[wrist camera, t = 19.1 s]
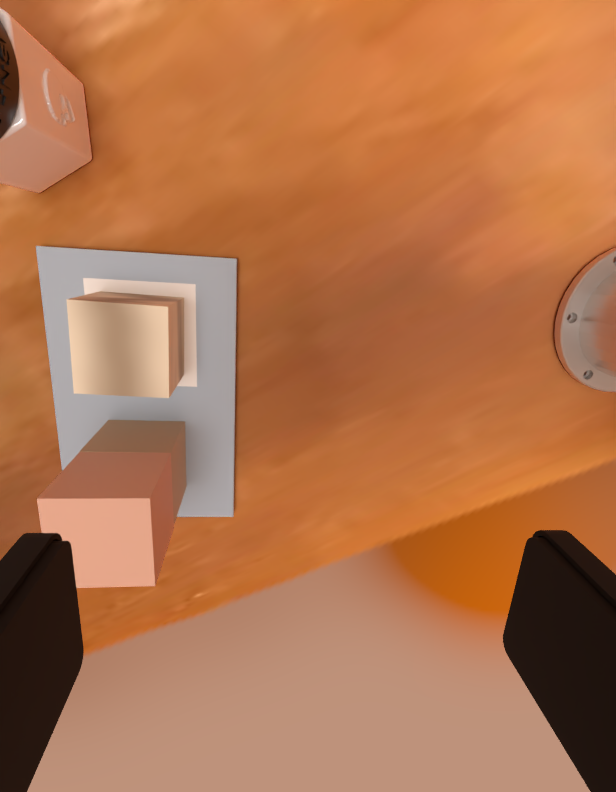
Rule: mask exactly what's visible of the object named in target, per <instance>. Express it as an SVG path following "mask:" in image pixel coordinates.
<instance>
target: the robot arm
mask: <svg viewBox="0 0 616 792" xmlns="http://www.w3.org/2000/svg"><path fill="white" fill-rule="evenodd" d="M554 336H555V347H556V350H557V354H558V357H559V360H560V361H561V363H562V365H563V367H564V368H565V370H566V371H567V372H568V373H569V374H570V375H571V376H572V377H573V378H574V379H576V380H577V381H579V382H580V383H582V384H584V385H586V386H588V387H591V388H593V389H596V390H600V391H604V392H616V248H613V249H610V250H609V251H607V252H605V253H603V254H601V255H600V256H598V257H597V258H595V259H594V260H593V261H592V262H590V263H589V264H588V265H587V266H585V267H584V269H583V270H582V271H581V272H580V273H579V274H578V275H577V276H576V277H575V278H574V280H573V282H572V283H571V285H570V286H569V288H568V289H567V291H566V292H565V295H564V297H563V299H562V301H561V303H560V306H559V309H558V313H557V316H556V321H555V331H554ZM503 643H504V647H505V651H506V653H507V655H508V657H509V658H510V660H511V662H512V663H513V665H514V667H515V668H516V670H517V672H518V673H519V675H520V676H521V678H522V680H523V681H524V683H525V685H526V686H527V688H528V690H529V691H530V693H531V694H532V696H533V698H534V699H535V701H536V703H537V704H538V706H539V708H540V709H541V711H542V712H543V714H544V716H545V717H546V719H547V721H548V722H549V724H550V726H551V727H552V729H553V731H554V732H555V734H556V736H557V737H558V739H559V740H560V742H561V744H562V745H563V747H564V749H565V750H566V752H567V754H568V755H569V757H570V759H571V760H572V762H573V763H574V765H575V767H576V768H577V770H578V772H579V773H580V775H581V776H582V778H583V780H584V781H585V783H586V784H587V786H588V788H589V790H590V791H591V792H616V575H615V574H614V573H613V572H612V571H611V570H610V569H609V568H608V567H607V566H606V565H604V564H603V563H602V562H601V561H600V560H599V559H598V558H597V557H596V556H595V555H594V554H592V553H591V552H590V551H589V550H588V549H587V548H586V547H585V546H584V545H583V544H581V543H580V542H579V541H578V540H577V539H576V538H575V537H574V536H573V535H572V534H570V533H569V532H567V531H563V530H545V531H544V530H540V531H537V532H535V534H534V535H533V537H532V538H529V539H528V540H527V542H526V546H525V549H524V553H523V557H522V561H521V565H520V570H519V574H518V577H517V581H516V585H515V589H514V594H513V598H512V602H511V606H510V610H509V614H508V618H507V622H506V626H505V630H504V634H503ZM82 660H83V641H82V632H81V624H80V615H79V607H78V598H77V590H76V581H75V573H74V564H73V556H72V547H71V544H70V542H69V541H62V537H61V536H60V534H58V533H26V534H23V535H22V536H21V537H20V538H19V539H18V541H17V542H16V543H15V544H14V545H13V546H12V548H11V549H10V550H9V551H8V552H7V553H6V555H5V556H4V557H3V558H2V559H1V561H0V792H27V790H28V788H29V785H30V783H31V781H32V779H33V776H34V774H35V772H36V769H37V767H38V765H39V763H40V760H41V758H42V756H43V753H44V751H45V749H46V747H47V744H48V742H49V739H50V737H51V735H52V733H53V731H54V728H55V726H56V724H57V721H58V719H59V717H60V715H61V712H62V710H63V708H64V705H65V703H66V701H67V699H68V696H69V694H70V692H71V689H72V687H73V685H74V682H75V680H76V678H77V676H78V673H79V671H80V668H81V664H82Z"/></svg>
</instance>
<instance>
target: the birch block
mask: <svg viewBox="0 0 616 792" xmlns="http://www.w3.org/2000/svg"><path fill="white" fill-rule="evenodd" d="M66 300H67V313H68V326H69V339H70V352H71V365H72V378H73V391H74V394H94V395H115V396H135V397H155V398H170V396H171V394H172V393H173V391H174V390H175V388H176V387H177V385H178V383H179V382H180V380H181V379H182V377H183V376H184V297H170V296H157V295H144V294H131V293H118V292H105V291H99V292H95V293H91V294H87V295H83V296H78V297H74V298H70V299H66Z"/></svg>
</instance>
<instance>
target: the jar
mask: <svg viewBox="0 0 616 792" xmlns="http://www.w3.org/2000/svg"><path fill="white" fill-rule="evenodd" d="M91 160H92V152H91V144H90V136H89V127H88V119H87V111H86V102H85V94H84V86H83V84H82V82H81V81H79V80H78V79H77V78H76V77H75V76H74V75H73V74H72V73H71V72H70V71H69V70H68V69H67V68H66V67H65V66H64V65H63V64H61V63H60V62H59V61H58V60H57V59H56V58H55V57H54V56H53V55H52V54H51V53H50V52H49V51H48V50H47V49H46V48H45V47H43V46H42V45H41V44H40V43H39V42H38V41H37V40H36V39H35V38H34V37H33V36H32V35H31V34H30V33H29V32H28V31H27V30H25V29H24V28H23V27H22V26H21V25H20V24H19V23H18V22H17V21H16V20H15V19H14V18H13V17H12V16H11V15H10V14H9V13H7V12H6V11H4V10H3V9H1V8H0V183H1V184H5V185H9V186H12V187H16V188H20V189H24V190H27V191H31V192H35V193H40V192H42V191H44V190H45V189H47V188H48V187H50V186H52V185H53V184H55V183H56V182H58V181H60V180H61V179H63V178H64V177H66V176H68V175H69V174H71V173H72V172H74V171H75V170H77V169H79V168H80V167H82V166H83V165H85V164H87V163H88V162H90V161H91Z"/></svg>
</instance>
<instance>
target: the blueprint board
mask: <svg viewBox="0 0 616 792" xmlns="http://www.w3.org/2000/svg"><path fill="white" fill-rule="evenodd" d="M36 252H37V260H38V269H39V277H40V286H41V294H42V303H43V311H44V320H45V329H46V337H47V346H48V354H49V363H50V371H51V380H52V388H53V397H54V405H55V414H56V422H57V431H58V439H59V448H60V456H61V465H62V471H63V470H64V468H65V467H66V466H67V465H68V464H69V463H70V462H71V461H72V460H73V459H74V458H75V456H76V455H77V454H78V453H79V452H144V453H171V469H172V493H173V516H174V524H175V521H176V518H177V517H233V514H234V467H235V392H236V316H237V259H236V258H220V257H204V256H189V255H173V254H157V253H141V252H125V251H110V250H94V249H78V248H62V247H47V246H36ZM99 291H105V292H118V293H131V294H144V295H157V296H170V297H184V376H183V377H182V379H181V380H180V382H179V383H178V385H177V387H176V388H175V390H174V391H173V393H172V394H171V396H170V398H155V397H135V396H115V395H94V394H74V391H73V378H72V365H71V352H70V339H69V326H68V313H67V300H66V299H70V298H74V297H78V296H83V295H87V294H91V293H95V292H99Z"/></svg>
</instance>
